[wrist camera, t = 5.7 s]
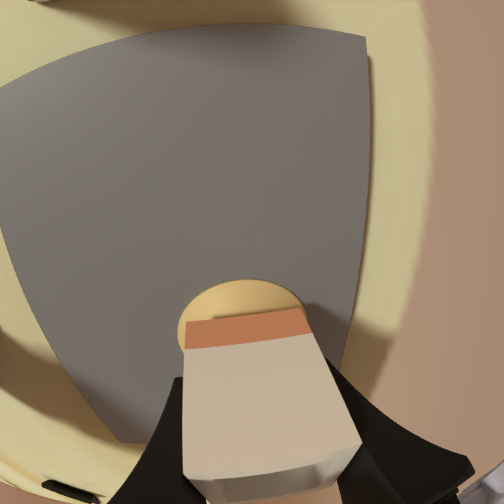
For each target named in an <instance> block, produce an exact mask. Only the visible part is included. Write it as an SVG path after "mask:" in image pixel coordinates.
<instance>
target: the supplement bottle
mask: <svg viewBox="0 0 504 504" xmlns="http://www.w3.org/2000/svg"><path fill="white" fill-rule="evenodd" d="M29 1H33V2H44V1H49V0H29Z"/></svg>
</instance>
